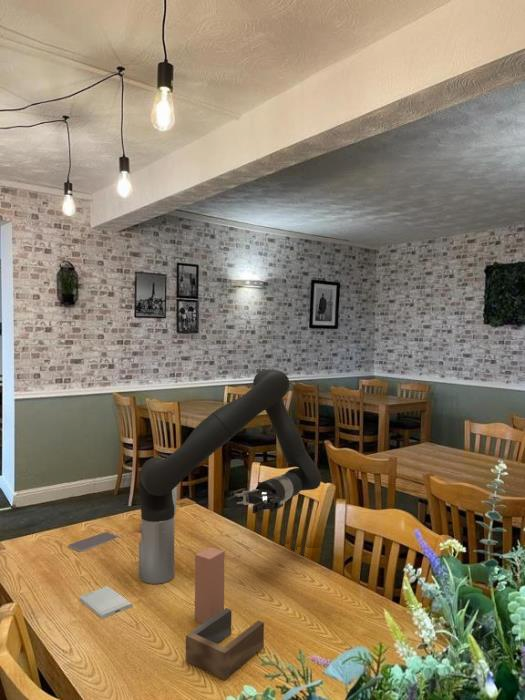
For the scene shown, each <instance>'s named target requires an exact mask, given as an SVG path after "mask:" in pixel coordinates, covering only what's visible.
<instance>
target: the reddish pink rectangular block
mask: <svg viewBox="0 0 525 700" xmlns="http://www.w3.org/2000/svg"><path fill="white" fill-rule="evenodd" d="M194 556H195V557H194V559H195V560H194V563H195V564H194V621H195V622H197V623H199V624H201V625H202V624H203V623H205V622H206V621H208V620H209V619H211V618H212V617H214V616H215V615H217V614H218V613H220V612H221V611H223V610H224V609H225V550H221V549H218V548H215V547H212V546H209V547H208V548H205V549H203V550H202V551H198V553H195V554H194Z"/></svg>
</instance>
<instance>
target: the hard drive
mask: <svg viewBox="0 0 525 700" xmlns="http://www.w3.org/2000/svg"><path fill="white" fill-rule="evenodd" d="M79 602H81V603H82V604H83V605H85V606H86V607H87V609H89V610H90V611H91V612H93V613H94V614H95V615H96V616H97V617H99V618H100V619H101V620H104V619H106V618H109V617H111V616H114V615H116V614H119V613H121V612H123V611H124V612H125V611H127V610H129V609H131V608H133V603H132V602H130V601H129V600H128V599H126V598H125V597H124V596H122V594H121V595H120V594H119V593H118V592H117V591H115V590H114V589H113V588H112V587H110V586H104V587H102V588H100V589H97V590H93V591H90V592H87V593H84V594H83V595H80V596H79Z"/></svg>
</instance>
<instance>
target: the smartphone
mask: <svg viewBox="0 0 525 700" xmlns="http://www.w3.org/2000/svg"><path fill="white" fill-rule="evenodd" d="M115 538H118V539H119V536H118V535H116V534H113V533H110V532H108V531H105V532H101V533H98V534H95V535H92V536H90V537H87V538H84V539H80V540H77V541H75V542H73V543H70V544H68V546H67V547H68V548H69V549H71V550H73V551H74V552H78V553H83V552H82V551H84V552H86V551H89V550H92V549H94V548H97V547H99V546H98V545H100V546H102V545H104V544H103V543H105V544H107V543H106V542H108V541H110V540H113V539H115ZM113 541H114V540H113ZM110 542H111V541H110ZM108 543H109V542H108ZM101 544H102V545H101ZM96 546H97V547H96ZM93 547H94V548H93ZM91 548H92V549H91ZM88 549H89V550H88ZM85 550H86V551H85Z"/></svg>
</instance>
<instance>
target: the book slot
mask: <svg viewBox="0 0 525 700" xmlns="http://www.w3.org/2000/svg"><path fill="white" fill-rule="evenodd" d="M264 625H265V622H264V621H261V620H257V621H255V622H254V623H253V624H251V625H250V626H249V627H248V628H246V629H245V630H244V631H242V632H241V633H240V634H239V635H238V636H236V637H235V638H234V639H232V640H231V641H229V642H228V643H227V644H226V645H224V646H223V645H221V644H219V643H222V641H223V640H225V639H227V637H229V636H230V635H232V609H231V608H227V607H224V610H223V611H221V612H220V613H218V614H217V615H215V616H214V617H212V618H211V619H209V620H208V621H206V622H205V623H203V624H202V623H201V624H200V625H199V626H198V627H196V628H195V629H194V630H191V631H190V632H189V633H188V634H185V662H186V663H187V664H188V663H189V664H190V665H192V666H194V667H197V668H199V669H201V670H202V671H205V672H207V673H209V674H210V675H213V676H215V677H217V678H219V679H220V680H223V681H226V680H227V679H229V678H230V677H231V676H232V675H233V674H234V673H235V672H237V671H238V670H240V668H241V667H243V665H245V664H247V662H248V661H249V660H250V658H251V657H252V656H253V657H254V656H255V655H256V654H257V653H256V652H258V653H259V652H260V651H261V650H262V649H263V648H264V643H265V641H264V639H265V631H264V630H265V629H264V628H265V626H264ZM253 657H252V658H253ZM252 658H251V659H252Z"/></svg>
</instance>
